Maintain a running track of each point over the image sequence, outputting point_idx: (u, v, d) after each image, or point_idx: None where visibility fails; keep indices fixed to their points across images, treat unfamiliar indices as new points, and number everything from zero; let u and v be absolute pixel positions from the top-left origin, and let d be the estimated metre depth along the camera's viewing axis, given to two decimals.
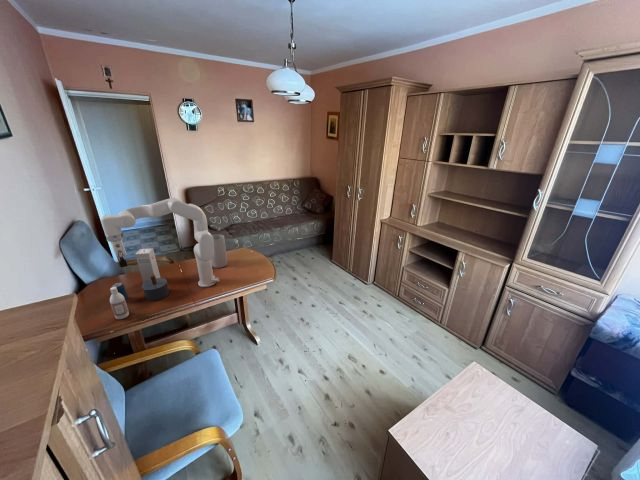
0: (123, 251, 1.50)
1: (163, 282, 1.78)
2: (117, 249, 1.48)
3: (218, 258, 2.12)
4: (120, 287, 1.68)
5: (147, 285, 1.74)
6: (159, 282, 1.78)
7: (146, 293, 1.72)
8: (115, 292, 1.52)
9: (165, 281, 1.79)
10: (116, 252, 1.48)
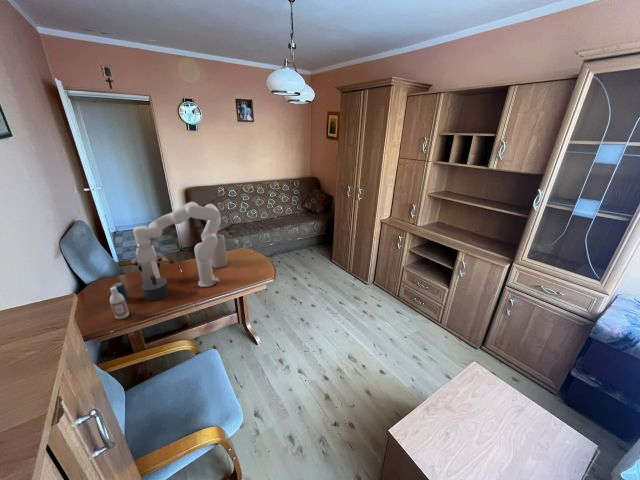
0: None
1: (163, 282, 1.78)
2: (155, 252, 1.70)
3: (218, 258, 2.12)
4: (120, 287, 1.69)
5: (147, 285, 1.74)
6: (159, 282, 1.78)
7: (146, 293, 1.72)
8: (115, 292, 1.52)
9: (165, 281, 1.79)
10: (155, 255, 1.70)
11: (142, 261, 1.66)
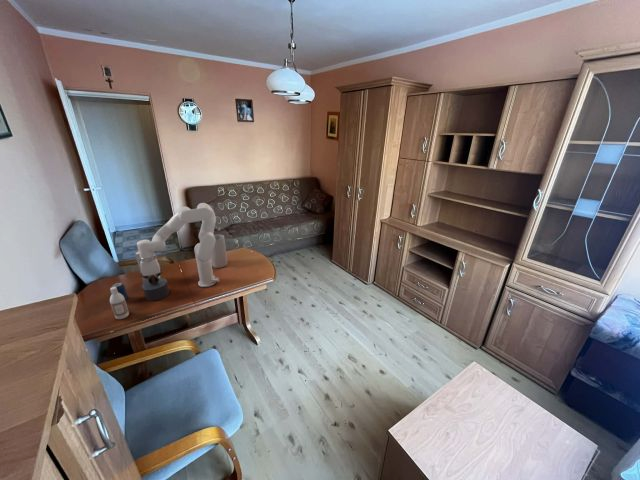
0: (159, 266, 1.76)
1: (163, 282, 1.78)
2: (159, 266, 1.74)
3: (218, 258, 2.12)
4: (120, 287, 1.69)
5: (147, 285, 1.74)
6: (159, 282, 1.78)
7: (146, 293, 1.72)
8: (115, 292, 1.52)
9: (165, 281, 1.79)
10: (159, 267, 1.73)
11: (146, 273, 1.70)
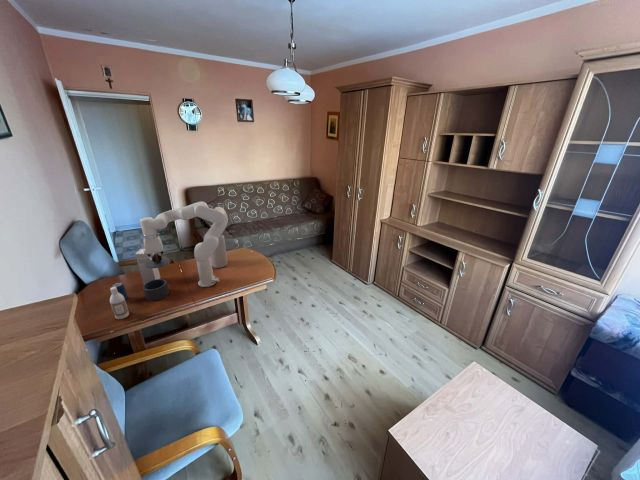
0: None
1: (166, 261, 1.79)
2: None
3: (218, 258, 2.12)
4: (120, 287, 1.69)
5: (150, 263, 1.75)
6: (162, 261, 1.78)
7: (146, 293, 1.72)
8: (115, 292, 1.52)
9: (168, 260, 1.80)
10: (162, 246, 1.74)
11: (149, 251, 1.70)
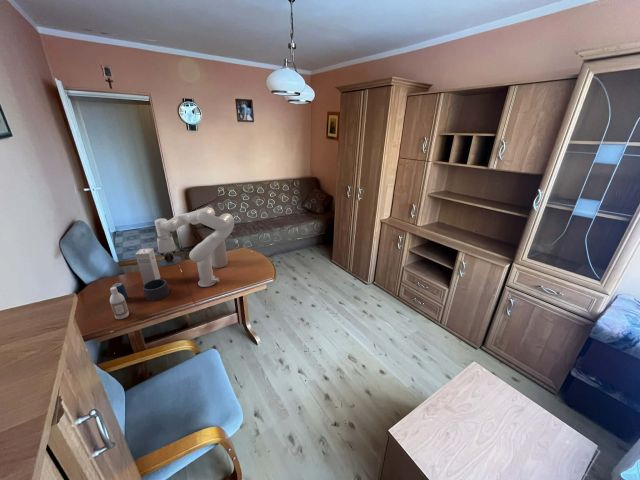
0: None
1: (178, 260, 1.89)
2: (174, 244, 1.85)
3: (218, 258, 2.12)
4: (120, 287, 1.69)
5: (163, 262, 1.86)
6: (174, 259, 1.89)
7: (146, 293, 1.72)
8: (115, 292, 1.52)
9: (179, 259, 1.91)
10: (174, 245, 1.85)
11: (162, 250, 1.81)
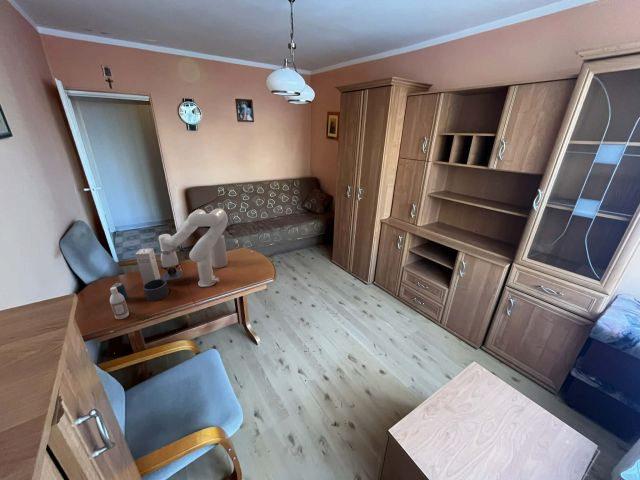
0: None
1: (180, 273, 1.94)
2: (177, 258, 1.90)
3: (218, 258, 2.12)
4: (120, 287, 1.69)
5: (166, 276, 1.90)
6: (177, 273, 1.94)
7: (146, 293, 1.72)
8: (115, 292, 1.52)
9: (182, 272, 1.95)
10: (177, 260, 1.89)
11: (165, 265, 1.86)
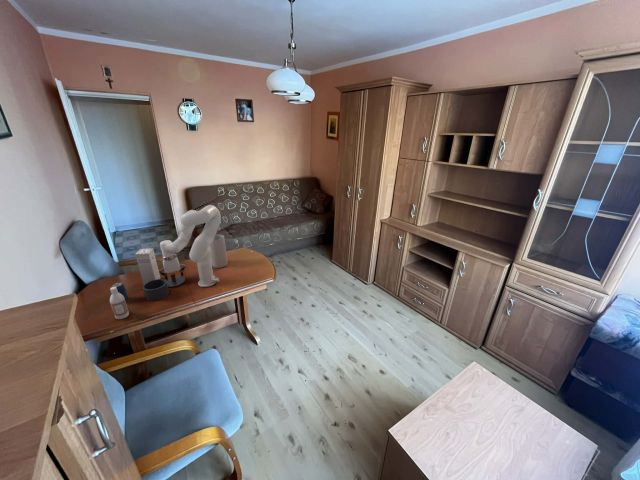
0: (179, 264, 1.94)
1: (182, 279, 1.96)
2: None
3: (218, 258, 2.12)
4: (120, 287, 1.69)
5: (168, 282, 1.92)
6: (178, 279, 1.96)
7: (146, 293, 1.72)
8: (115, 292, 1.52)
9: (183, 279, 1.97)
10: (179, 265, 1.91)
11: (168, 271, 1.87)
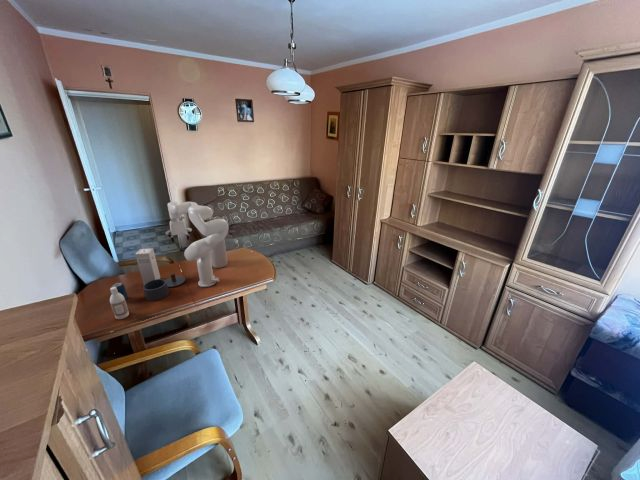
0: None
1: (182, 279, 1.96)
2: (185, 226, 1.92)
3: (218, 258, 2.12)
4: (120, 287, 1.69)
5: (168, 282, 1.92)
6: (178, 279, 1.96)
7: (146, 293, 1.72)
8: (115, 292, 1.52)
9: (183, 279, 1.97)
10: (186, 228, 1.92)
11: (174, 232, 1.89)
